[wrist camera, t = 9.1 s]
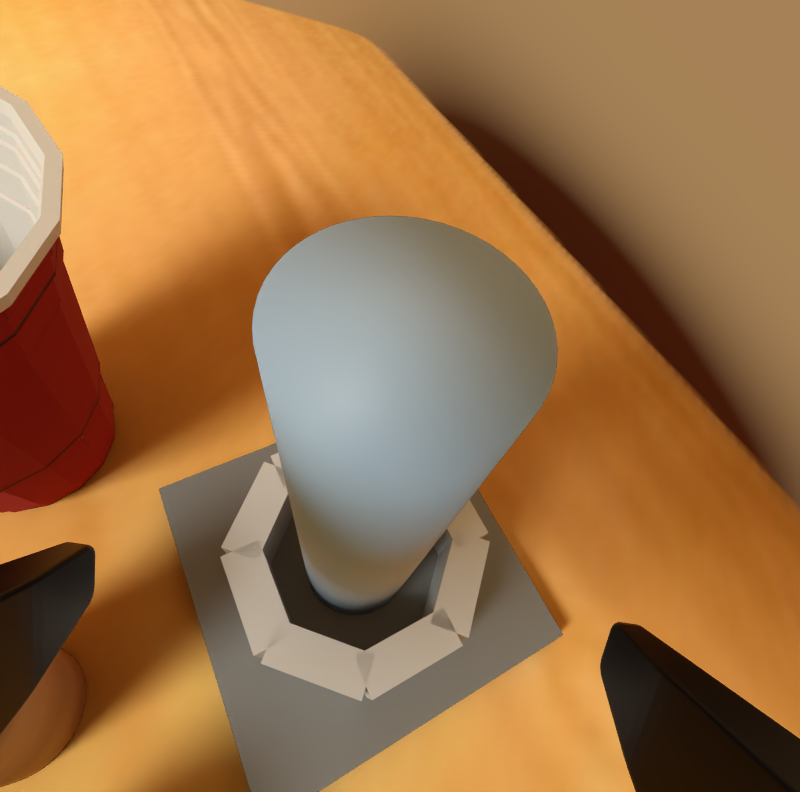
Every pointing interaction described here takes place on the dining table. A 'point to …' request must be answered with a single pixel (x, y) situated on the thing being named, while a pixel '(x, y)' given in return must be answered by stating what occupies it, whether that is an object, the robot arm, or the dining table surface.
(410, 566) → the long dowel
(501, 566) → the socket
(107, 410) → the plastic cup
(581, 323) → the dining table surface
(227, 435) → the dining table surface
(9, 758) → the medium dowel
